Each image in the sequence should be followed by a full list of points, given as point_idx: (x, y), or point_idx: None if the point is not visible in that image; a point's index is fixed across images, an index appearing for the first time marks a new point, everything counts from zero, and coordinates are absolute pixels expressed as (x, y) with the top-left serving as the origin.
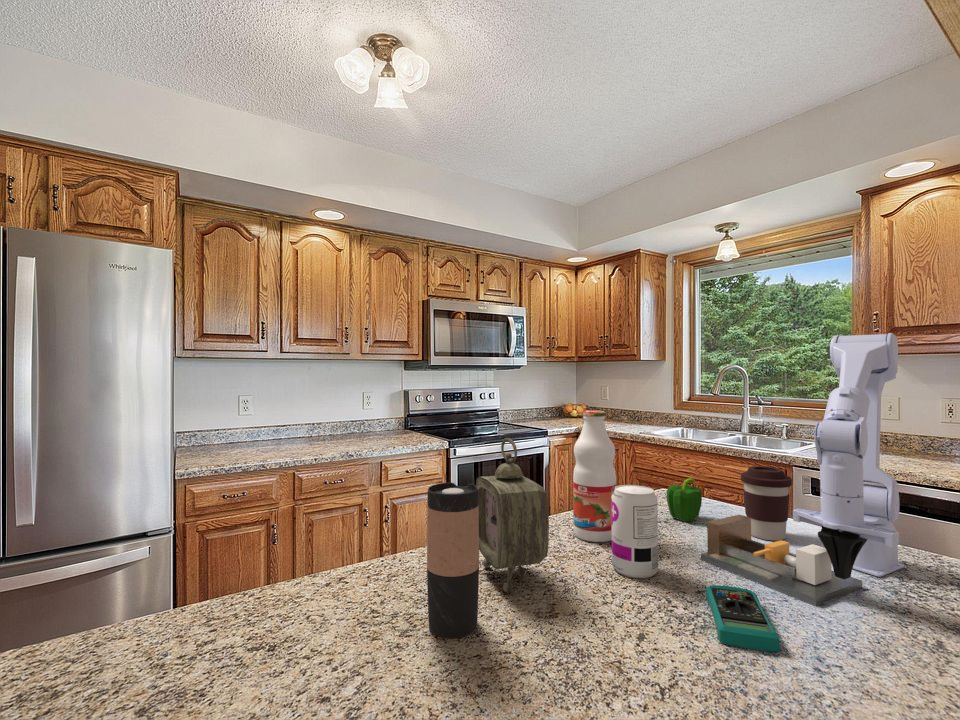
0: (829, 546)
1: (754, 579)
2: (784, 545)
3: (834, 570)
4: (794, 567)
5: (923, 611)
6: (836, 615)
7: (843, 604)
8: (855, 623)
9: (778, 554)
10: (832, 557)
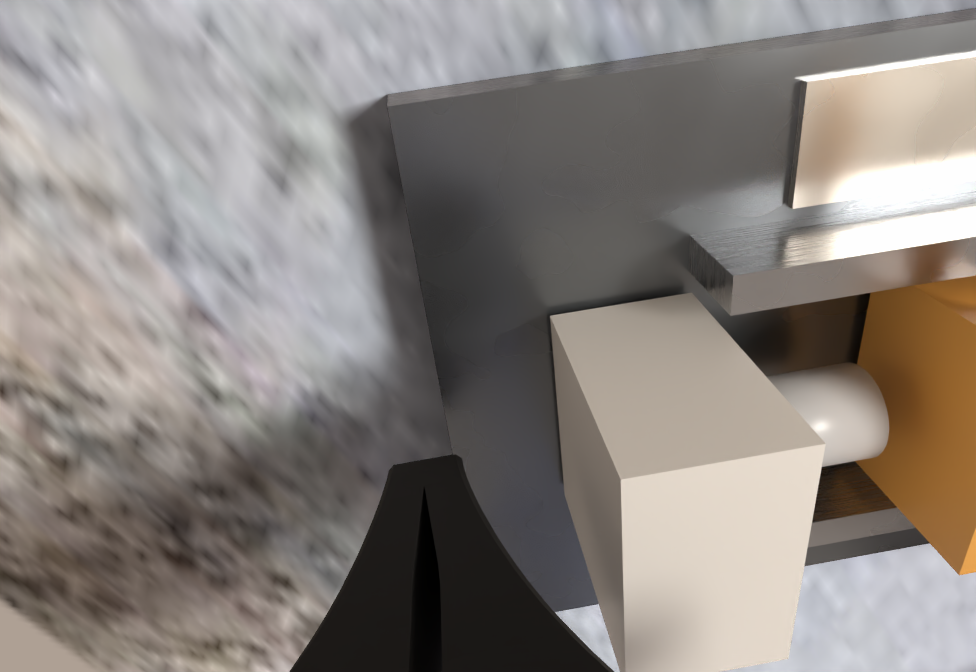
0: (503, 654)
1: (912, 20)
2: (968, 510)
3: (459, 481)
4: (766, 376)
5: (173, 618)
6: (224, 104)
7: (354, 318)
8: (81, 118)
9: (941, 390)
10: (471, 561)
